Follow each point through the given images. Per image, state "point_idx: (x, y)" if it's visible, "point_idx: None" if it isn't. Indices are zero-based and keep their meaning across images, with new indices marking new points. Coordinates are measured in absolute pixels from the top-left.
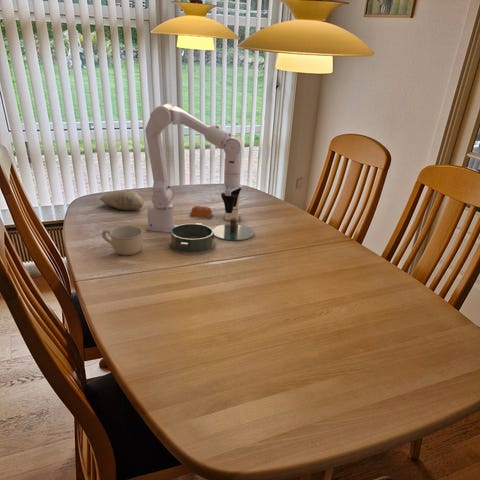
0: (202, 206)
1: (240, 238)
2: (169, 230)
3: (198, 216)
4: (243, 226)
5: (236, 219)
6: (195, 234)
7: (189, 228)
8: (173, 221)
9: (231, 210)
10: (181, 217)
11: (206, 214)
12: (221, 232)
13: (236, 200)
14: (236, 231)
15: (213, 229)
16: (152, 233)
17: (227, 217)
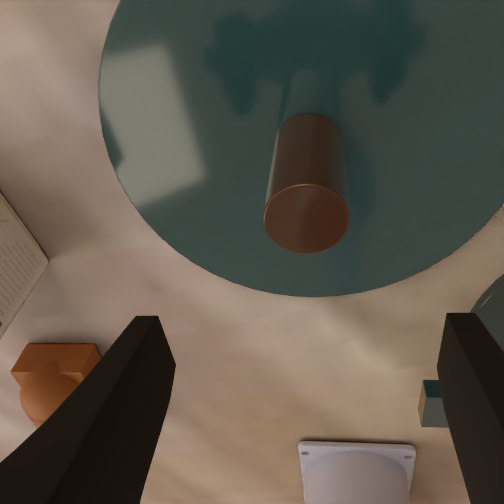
0: None
1: (493, 13)
2: (397, 457)
3: None
4: (117, 86)
5: (302, 190)
6: None
7: None
8: (339, 484)
9: (497, 350)
10: (164, 442)
11: None
12: (363, 230)
13: (118, 392)
14: (288, 116)
15: (317, 293)
16: (436, 488)
17: (27, 264)
